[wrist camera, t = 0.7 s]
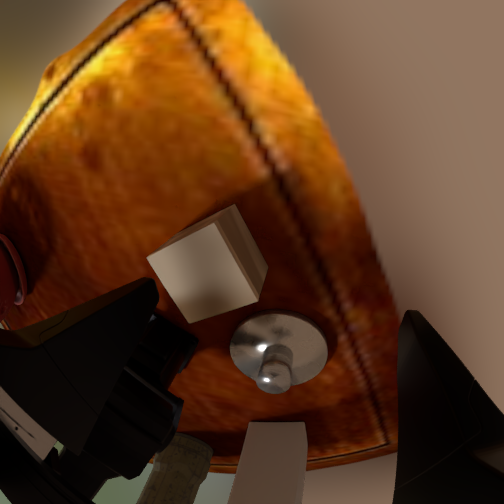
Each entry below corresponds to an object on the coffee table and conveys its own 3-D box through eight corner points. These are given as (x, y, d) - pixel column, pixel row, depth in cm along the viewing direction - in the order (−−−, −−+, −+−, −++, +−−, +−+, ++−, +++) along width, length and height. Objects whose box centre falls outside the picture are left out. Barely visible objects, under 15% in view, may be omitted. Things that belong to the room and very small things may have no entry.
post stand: (292, 389, 27) (288, 422, 23) (217, 353, 26) (204, 385, 22) (346, 338, 23) (351, 373, 19) (261, 291, 23) (251, 324, 19)
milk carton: (304, 420, 29) (285, 559, 12) (308, 444, 31) (292, 560, 14) (249, 420, 31) (212, 549, 13) (259, 444, 33) (231, 554, 16)
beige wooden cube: (210, 289, 24) (189, 323, 19) (176, 233, 22) (146, 257, 18) (268, 267, 22) (258, 301, 17) (234, 203, 20) (214, 222, 16)
